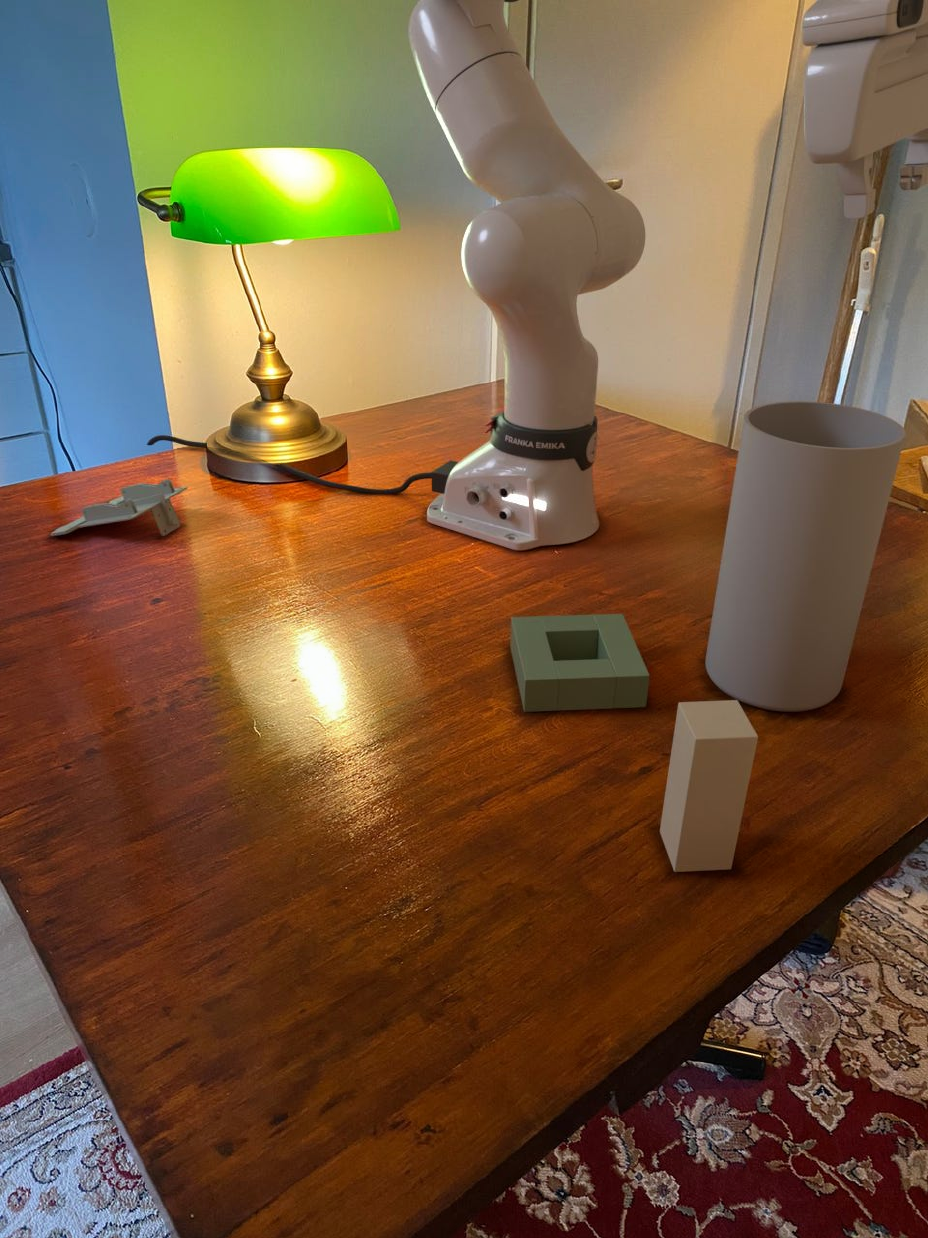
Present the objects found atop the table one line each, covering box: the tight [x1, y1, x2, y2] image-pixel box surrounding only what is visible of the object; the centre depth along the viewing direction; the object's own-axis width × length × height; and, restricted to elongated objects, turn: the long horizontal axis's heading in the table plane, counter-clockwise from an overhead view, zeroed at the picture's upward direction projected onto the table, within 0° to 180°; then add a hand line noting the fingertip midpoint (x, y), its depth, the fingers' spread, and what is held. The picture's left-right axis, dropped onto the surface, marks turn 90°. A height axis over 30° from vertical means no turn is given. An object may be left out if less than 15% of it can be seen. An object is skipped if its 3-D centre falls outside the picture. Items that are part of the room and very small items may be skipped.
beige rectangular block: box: [659, 699, 759, 873], centre depth 64 cm, size 4×4×12 cm
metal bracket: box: [50, 478, 188, 537], centre depth 117 cm, size 14×6×15 cm
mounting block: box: [509, 613, 650, 713], centre depth 86 cm, size 11×11×4 cm
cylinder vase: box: [704, 400, 906, 713], centre depth 81 cm, size 12×12×25 cm
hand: (887, 201), depth 73 cm, fingers open, 8 cm apart
